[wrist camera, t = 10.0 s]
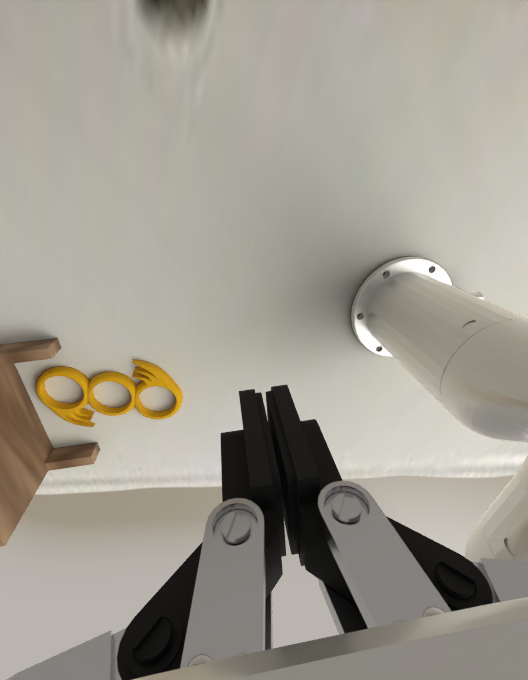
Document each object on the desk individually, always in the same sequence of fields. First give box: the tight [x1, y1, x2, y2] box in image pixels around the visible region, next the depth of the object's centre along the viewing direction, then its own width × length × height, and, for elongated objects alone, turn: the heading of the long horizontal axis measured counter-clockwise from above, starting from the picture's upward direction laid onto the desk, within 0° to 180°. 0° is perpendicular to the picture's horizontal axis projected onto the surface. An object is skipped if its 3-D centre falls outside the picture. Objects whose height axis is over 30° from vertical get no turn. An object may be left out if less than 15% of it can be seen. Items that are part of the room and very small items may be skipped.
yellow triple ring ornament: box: [36, 360, 182, 427], centre depth 41 cm, size 17×2×10 cm
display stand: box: [0, 338, 100, 546], centre depth 35 cm, size 7×16×12 cm, turn 4°
